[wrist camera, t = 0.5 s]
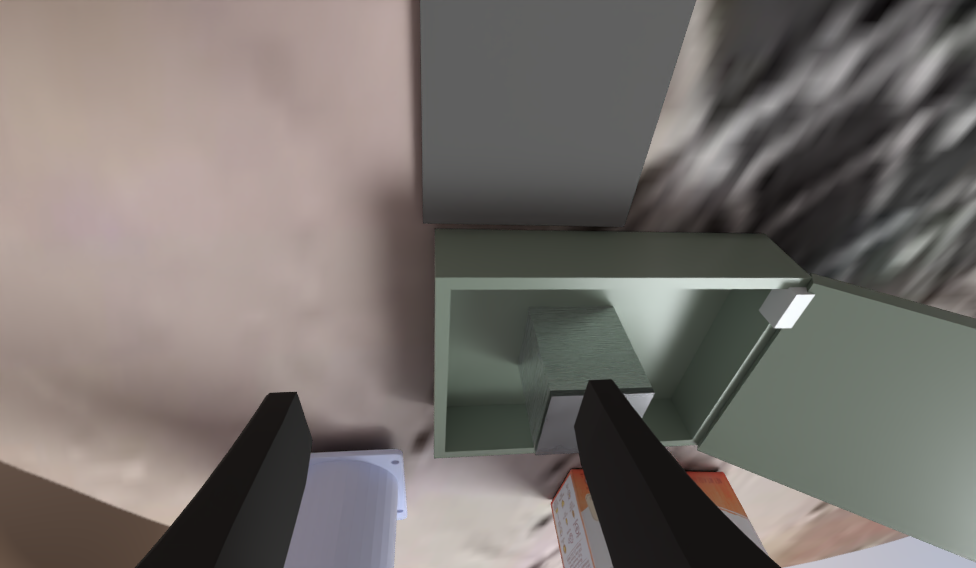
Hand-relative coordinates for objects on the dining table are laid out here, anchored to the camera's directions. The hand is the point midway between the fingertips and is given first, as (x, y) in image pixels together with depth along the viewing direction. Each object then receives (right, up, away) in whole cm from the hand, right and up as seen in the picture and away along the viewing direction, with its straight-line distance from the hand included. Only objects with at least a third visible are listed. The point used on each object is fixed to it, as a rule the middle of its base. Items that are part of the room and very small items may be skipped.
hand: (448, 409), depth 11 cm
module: (+5, 0, +13) cm, 14 cm away
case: (+13, +1, +14) cm, 19 cm away
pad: (+3, +10, +6) cm, 11 cm away
